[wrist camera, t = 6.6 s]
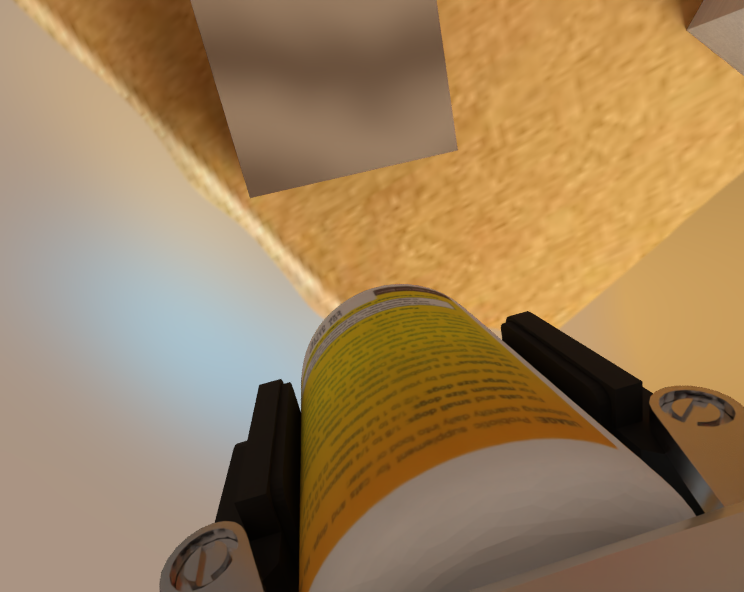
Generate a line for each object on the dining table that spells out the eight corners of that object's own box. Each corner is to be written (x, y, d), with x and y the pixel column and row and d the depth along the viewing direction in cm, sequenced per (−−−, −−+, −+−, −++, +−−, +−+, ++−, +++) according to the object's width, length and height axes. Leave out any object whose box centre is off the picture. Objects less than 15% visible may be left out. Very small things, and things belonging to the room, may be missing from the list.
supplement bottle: (262, 380, 12) (89, 1221, 2) (389, 239, 11) (845, 606, 2) (395, 471, 14) (609, 1173, 4) (512, 352, 13) (1090, 856, 3)
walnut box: (205, -1, 25) (170, -66, 18) (390, -35, 26) (421, -108, 19) (262, 193, 29) (250, 197, 22) (423, 156, 30) (457, 150, 23)
